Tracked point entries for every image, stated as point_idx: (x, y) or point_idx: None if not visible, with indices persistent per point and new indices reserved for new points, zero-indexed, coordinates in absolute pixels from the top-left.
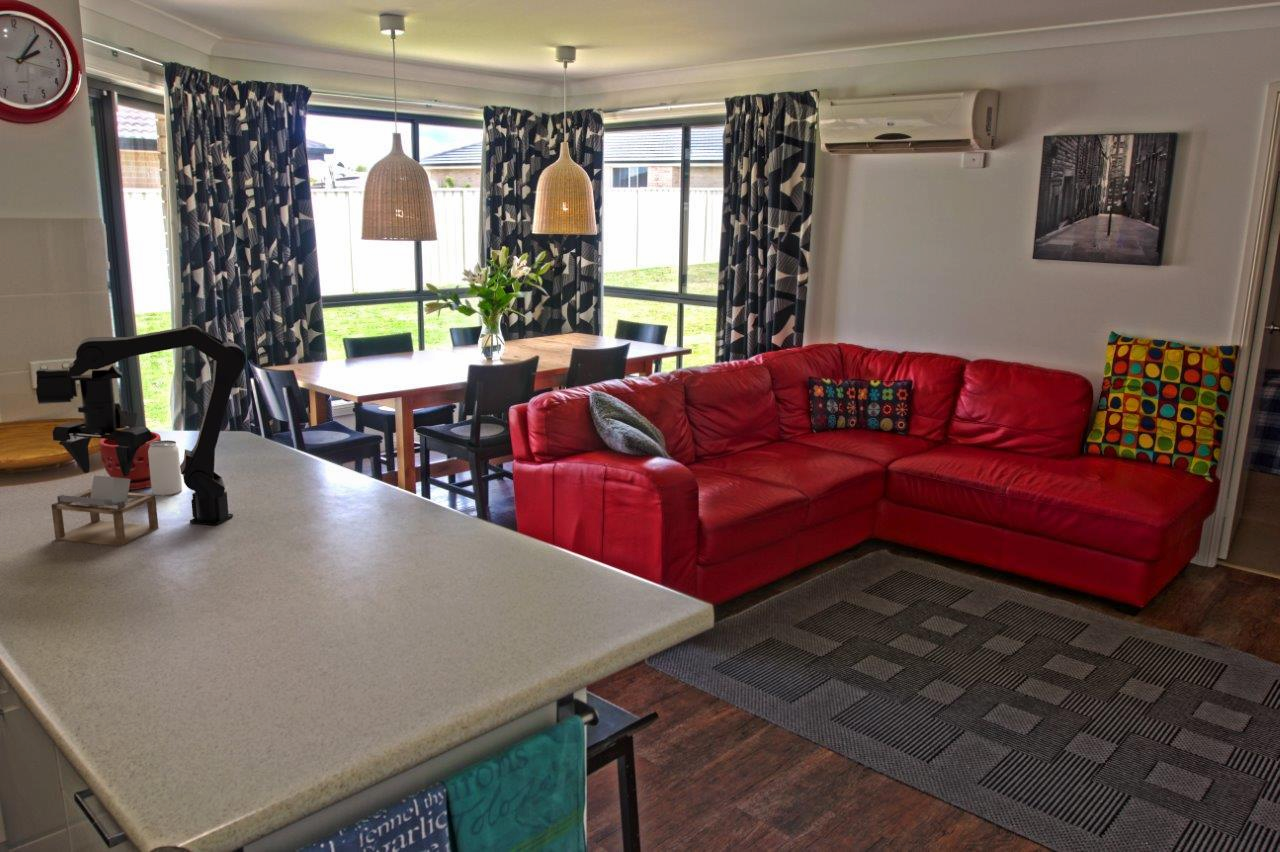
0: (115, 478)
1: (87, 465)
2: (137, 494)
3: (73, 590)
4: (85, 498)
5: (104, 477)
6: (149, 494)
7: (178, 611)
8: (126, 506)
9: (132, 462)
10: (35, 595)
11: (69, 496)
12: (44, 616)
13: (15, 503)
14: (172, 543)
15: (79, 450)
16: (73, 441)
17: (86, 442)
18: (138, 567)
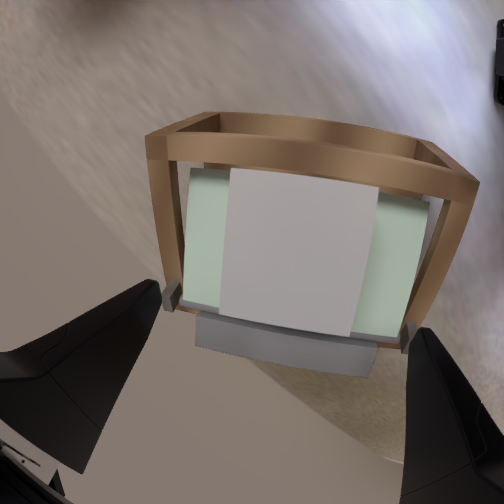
0: (352, 320)
1: (139, 316)
2: (404, 177)
3: (385, 405)
4: (292, 365)
5: (290, 325)
6: (455, 175)
7: (494, 413)
8: (418, 316)
9: (471, 388)
10: (346, 413)
11: (228, 352)
12: (380, 433)
13: (3, 85)
14: (493, 253)
15: (86, 413)
16: (53, 458)
17: (26, 404)
18: (452, 354)
